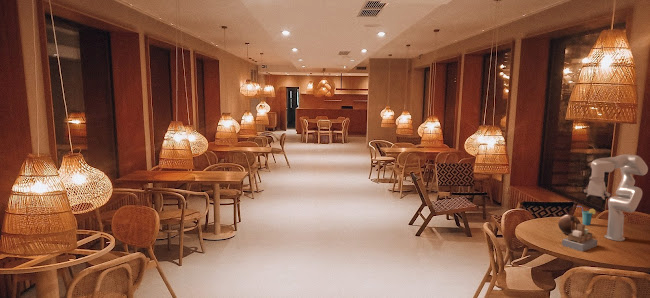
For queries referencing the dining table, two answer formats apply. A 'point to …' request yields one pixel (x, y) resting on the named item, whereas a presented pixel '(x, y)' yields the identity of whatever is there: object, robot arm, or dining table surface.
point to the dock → (579, 244)
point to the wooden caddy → (583, 237)
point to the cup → (587, 215)
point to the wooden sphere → (568, 224)
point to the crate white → (577, 233)
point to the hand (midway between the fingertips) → (595, 203)
